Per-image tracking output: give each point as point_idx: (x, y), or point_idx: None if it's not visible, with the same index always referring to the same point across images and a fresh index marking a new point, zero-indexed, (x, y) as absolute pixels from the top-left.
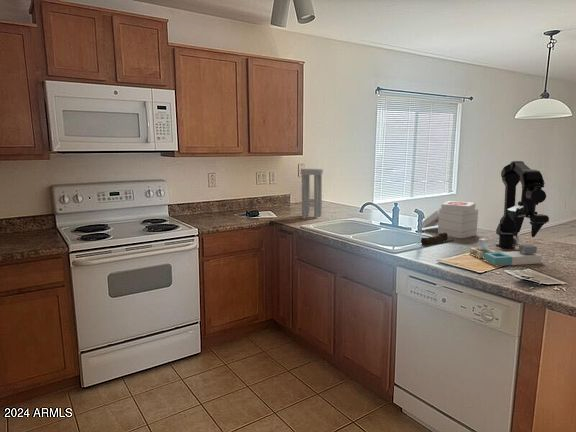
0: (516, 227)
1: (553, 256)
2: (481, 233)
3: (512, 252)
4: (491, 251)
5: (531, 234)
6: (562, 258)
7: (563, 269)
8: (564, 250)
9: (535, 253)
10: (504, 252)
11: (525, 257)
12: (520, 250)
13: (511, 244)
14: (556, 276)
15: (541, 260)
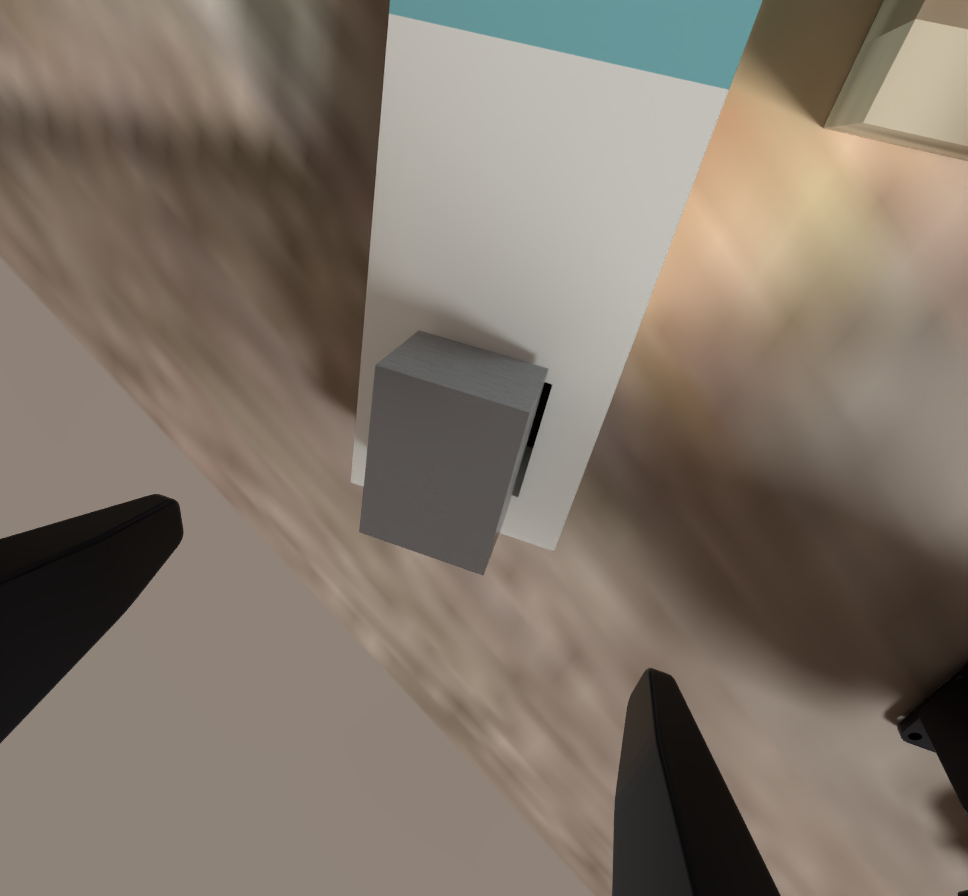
0: (680, 801)
1: (507, 684)
2: None
3: (595, 290)
4: (943, 5)
5: (122, 524)
6: (443, 677)
7: (206, 424)
8: (582, 842)
9: None
10: (668, 153)
11: (376, 273)
12: (498, 365)
13: (945, 732)
14: (24, 168)
15: None
